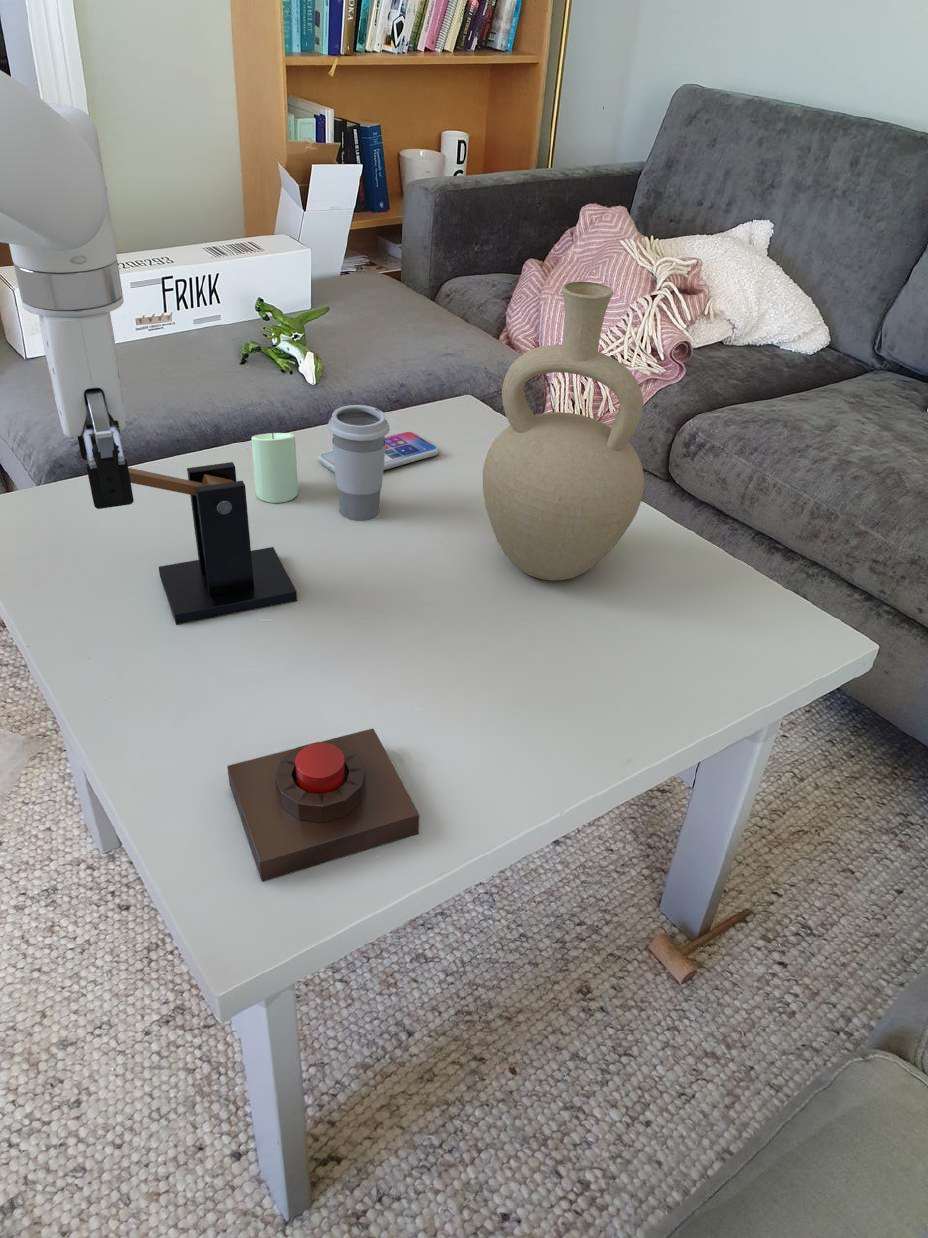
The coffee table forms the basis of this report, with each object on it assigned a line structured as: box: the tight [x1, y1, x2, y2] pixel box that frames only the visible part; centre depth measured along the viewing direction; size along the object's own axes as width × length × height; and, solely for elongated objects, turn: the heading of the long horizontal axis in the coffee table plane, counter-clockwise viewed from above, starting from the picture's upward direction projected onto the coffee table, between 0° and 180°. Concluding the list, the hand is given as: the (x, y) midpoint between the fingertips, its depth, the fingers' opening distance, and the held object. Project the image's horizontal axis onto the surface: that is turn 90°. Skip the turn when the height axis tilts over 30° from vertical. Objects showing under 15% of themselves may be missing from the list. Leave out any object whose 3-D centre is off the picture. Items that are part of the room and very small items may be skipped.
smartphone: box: [318, 431, 440, 474], centre depth 119 cm, size 7×1×15 cm
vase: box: [482, 280, 645, 582], centre depth 92 cm, size 17×17×30 cm
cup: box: [327, 404, 390, 521], centre depth 105 cm, size 7×7×12 cm
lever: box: [86, 456, 233, 496], centre depth 84 cm, size 13×5×2 cm, turn 115°
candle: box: [251, 432, 299, 504], centre depth 108 cm, size 5×5×8 cm
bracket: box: [158, 461, 298, 625], centre depth 90 cm, size 12×9×13 cm
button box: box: [226, 728, 420, 882], centre depth 69 cm, size 12×10×4 cm
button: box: [295, 742, 345, 794], centre depth 68 cm, size 4×4×2 cm
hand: (106, 479), depth 82 cm, fingers open, 9 cm apart
